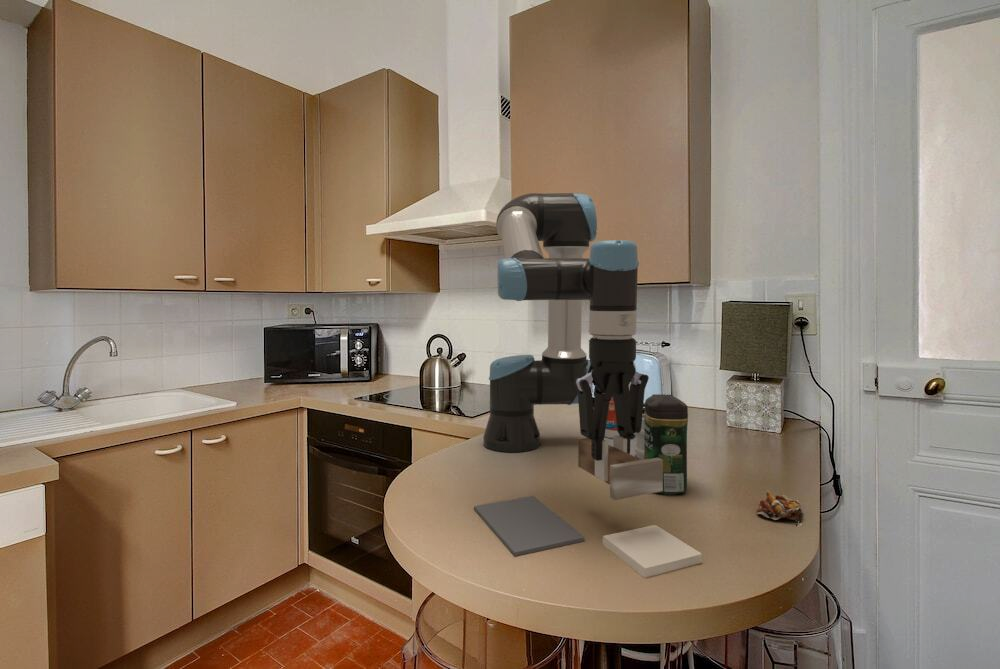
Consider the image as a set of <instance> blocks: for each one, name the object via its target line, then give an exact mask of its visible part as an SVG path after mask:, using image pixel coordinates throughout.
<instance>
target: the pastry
mask: <svg viewBox="0 0 1000 669" xmlns="http://www.w3.org/2000/svg"><path fill="white" fill-rule="evenodd" d="M765 494H766V497H765V499H763V500H762V499H761V500H760V502H759V503H758V507H759V508H757V510H756V514H760V515H762V516H763V517H765V518H767V519H768V518H769V519H772V520H774V521H776V520H777V521H778V520H779V519H784V518H785V519H788V520H792V521H795V525H796V526H795V527H797V526H798V528H800V527H799V526H802V527H803V523H802V524H798V521H802V520H801V518H800V514H801V513H803V509H802V506H801V505H800V501H799V500H798V499H796V500H794V499H791V498H789V497H788V496H787V495H785V494H784V495H780V494H779V495H777V494H776V495H775V496H773V495H772V493H771V491H769V490H768V489H766V493H765ZM796 523H797V524H796ZM799 523H800V522H799Z"/></svg>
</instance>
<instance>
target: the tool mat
mask: <svg viewBox="0 0 1000 669" xmlns="http://www.w3.org/2000/svg"><path fill="white" fill-rule="evenodd" d="M473 510H474V511H475V512H476V513H477V515H478V516H479V517H480V518H481V519H482V521H483V522H484V523H485V524H486V525H487V526H488V527H489V528H490V529H491V531H492V532H493V533H494V534H495V535H496V537H497V538H498V539H499V540H500V541H501V542H502V544H503V545H504V546H505V547H506V548H507V549H508V551H510V553H511V554H512V556H514V557H518V556H522V555H523V556H524V555H526V554H527V555H529V554H531V553H536V552H541V551H545V550H546V551H547V550H549V549H550V550H551V549H554V548H558V547H563V546H568V545H569V546H570V545H572V544H576V543H577V544H578V543H581V542H585V540H586V536H584V535H582V533H580V532H579V531H578V530H577V529H575V528H574V527H573V526H572V525H570V524H569V523H568V522H567V521H565V520H564V519H563V518H562V517H560V516H559V515H558V514H557V513H556V512H555V511H553V510H552V509H550V508H549V507H548V506H547V505H546V504H545V503H543V502H542V501H540V500H539V499H538V498H537V497H536V496H534V495H532V496H531V495H530V496H525V497H519V498H514V499H508V500H507V499H506V500H501V501H495V502H490V503H485V504H477V505H474V506H473Z"/></svg>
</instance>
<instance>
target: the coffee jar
mask: <svg viewBox="0 0 1000 669" xmlns="http://www.w3.org/2000/svg"><path fill="white" fill-rule="evenodd" d="M688 408H689V407H688V405H687V404H686V403H685V402H684V401H682V400H681V399H679V398H677V397H675V396H674V395H673V394H661V393H660V394H659V393H658V394H657V393H656V394H652V395H651V396H649V397H647V398H646V399H645V400H644V414H645V422H644V460H646V459H652V458H660V459H662V460H663V491H661V492H657V493H659V494H663V495H670V496H674V495H679V494H684V493H685V492H687V490H688V489H687V488H688V422H689V418H688V417H689V414H688V413H689V412H688V411H689V410H688Z"/></svg>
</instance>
